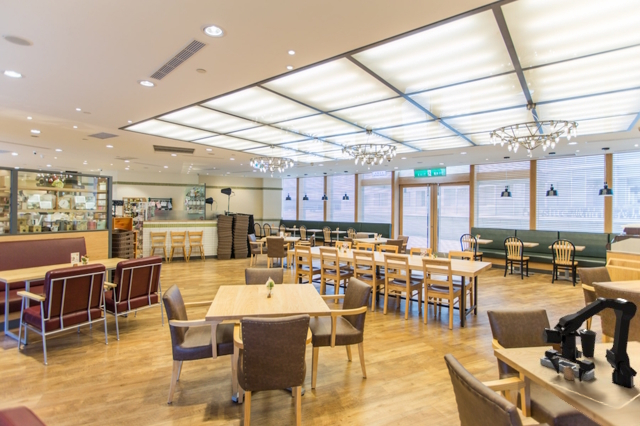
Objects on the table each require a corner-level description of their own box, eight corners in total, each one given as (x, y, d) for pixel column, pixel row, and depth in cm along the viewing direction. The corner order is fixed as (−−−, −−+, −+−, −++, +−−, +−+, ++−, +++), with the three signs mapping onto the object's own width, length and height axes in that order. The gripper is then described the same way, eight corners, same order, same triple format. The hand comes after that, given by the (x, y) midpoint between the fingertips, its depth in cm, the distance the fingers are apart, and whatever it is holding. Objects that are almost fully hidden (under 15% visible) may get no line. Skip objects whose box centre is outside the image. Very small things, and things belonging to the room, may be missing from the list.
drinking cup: (583, 358, 180) (582, 321, 181) (576, 352, 187) (576, 317, 188) (599, 359, 178) (599, 323, 178) (592, 354, 185) (592, 319, 186)
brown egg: (576, 380, 155) (576, 367, 155) (572, 382, 153) (571, 369, 153) (566, 377, 158) (565, 364, 158) (561, 379, 156) (561, 365, 156)
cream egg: (589, 376, 158) (588, 363, 158) (585, 378, 156) (584, 365, 156) (578, 372, 161) (578, 360, 161) (574, 374, 159) (574, 361, 159)
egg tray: (594, 378, 157) (594, 370, 157) (587, 381, 153) (587, 374, 153) (547, 362, 175) (547, 355, 175) (540, 365, 171) (540, 358, 171)
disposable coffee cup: (570, 359, 178) (570, 337, 179) (549, 355, 184) (549, 333, 184) (570, 353, 186) (570, 332, 186) (550, 349, 192) (549, 329, 192)
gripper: (600, 347, 152) (600, 381, 151) (555, 335, 168) (555, 366, 168) (589, 352, 146) (589, 387, 146) (543, 339, 162) (544, 370, 162)
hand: (569, 377), depth 155 cm, fingers open, 9 cm apart
